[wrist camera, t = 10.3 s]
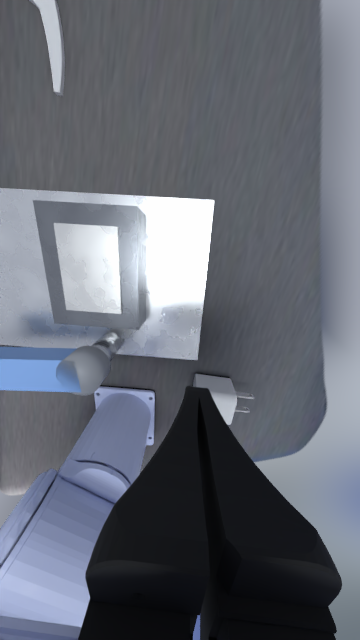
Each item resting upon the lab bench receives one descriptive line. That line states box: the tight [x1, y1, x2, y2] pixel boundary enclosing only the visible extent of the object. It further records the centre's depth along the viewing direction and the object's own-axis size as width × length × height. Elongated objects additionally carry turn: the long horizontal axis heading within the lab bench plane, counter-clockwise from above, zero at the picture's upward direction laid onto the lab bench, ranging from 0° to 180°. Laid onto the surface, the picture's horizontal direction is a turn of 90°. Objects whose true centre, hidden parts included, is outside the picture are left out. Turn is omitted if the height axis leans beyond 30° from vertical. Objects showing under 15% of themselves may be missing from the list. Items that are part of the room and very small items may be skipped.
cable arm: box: [0, 346, 111, 395], centre depth 16 cm, size 17×4×2 cm, turn 90°
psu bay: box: [0, 188, 214, 360], centre depth 17 cm, size 16×24×5 cm, turn 87°
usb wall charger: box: [193, 374, 254, 425], centre depth 21 cm, size 4×7×4 cm, turn 83°
